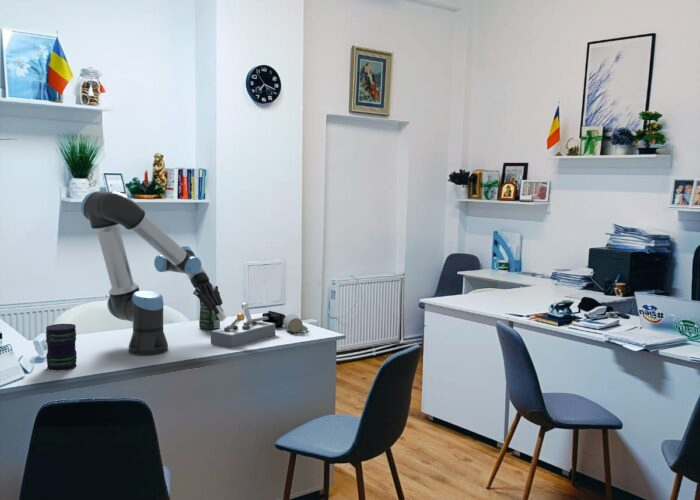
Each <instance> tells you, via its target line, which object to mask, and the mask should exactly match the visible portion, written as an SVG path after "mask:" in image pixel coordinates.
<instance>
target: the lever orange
mask: <svg viewBox="0 0 700 500" xmlns="http://www.w3.org/2000/svg"><path fill="white" fill-rule="evenodd" d="M245 319H246V316H245V313H242V312H241V313H238V314H237V316H236V319H234V321H233V322H232V323H231V324H230V325H227V326H226V327H227V328H230V330H232V329H235V328H236V325H239V324H240V323H239V322H243V321H244V320H245Z"/></svg>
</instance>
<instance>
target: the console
mask: <svg viewBox="0 0 700 500" xmlns="http://www.w3.org/2000/svg"><path fill="white" fill-rule="evenodd" d="M254 322H255V323H254V324H252V325H249V323H246V322H243V323H238V324H237V325H236V328H235V329H232V330H230V328H227V326H225V327H223V328H218V329H216V330H210V344H213V345H217V346H223V347H226V348H234V347H239V346H242V345H245V344H249V343H253V342H256V341H260V340H263V339H266V338H270V337H273V336H276V328H275V324H273V323H267V322H262V321H254Z"/></svg>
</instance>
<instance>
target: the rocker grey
mask: <svg viewBox="0 0 700 500" xmlns="http://www.w3.org/2000/svg"><path fill="white" fill-rule="evenodd" d="M251 319H252V320H254V321H263V320H267V319H269V318H268V317H267V316H265V317H262V316H261V317H257V318H251Z"/></svg>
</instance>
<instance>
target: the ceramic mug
mask: <svg viewBox="0 0 700 500" xmlns="http://www.w3.org/2000/svg"><path fill="white" fill-rule="evenodd" d="M285 316H286V317H285V318H284V322H283V323H284V325H283V327H284V328H285V329H286V330H287V331H289V332H290V333H293V334H298V333H299V332H301V331H304V332H307V331H308V327H307V326H305V325H304V323H303V321H302V320H301V318H300V317H298V315H297V314H294V313H290V314H287V315H285Z"/></svg>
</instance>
